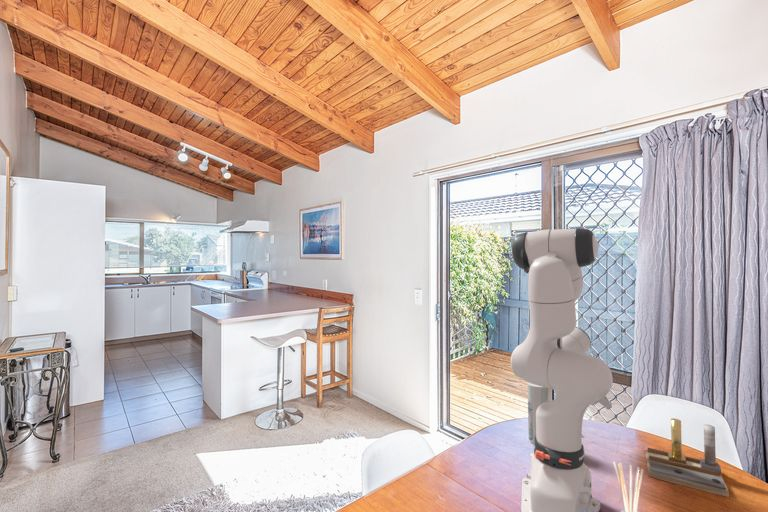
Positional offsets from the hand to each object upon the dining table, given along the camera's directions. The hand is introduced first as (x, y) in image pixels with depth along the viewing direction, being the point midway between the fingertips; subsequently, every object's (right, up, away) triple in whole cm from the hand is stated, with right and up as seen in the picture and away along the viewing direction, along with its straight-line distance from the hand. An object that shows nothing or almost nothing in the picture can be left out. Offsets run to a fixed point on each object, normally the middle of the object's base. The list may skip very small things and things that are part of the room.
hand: (610, 407), depth 117 cm
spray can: (-21, -15, +7) cm, 26 cm away
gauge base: (+13, -14, -12) cm, 23 cm away
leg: (+14, -12, -9) cm, 21 cm away
